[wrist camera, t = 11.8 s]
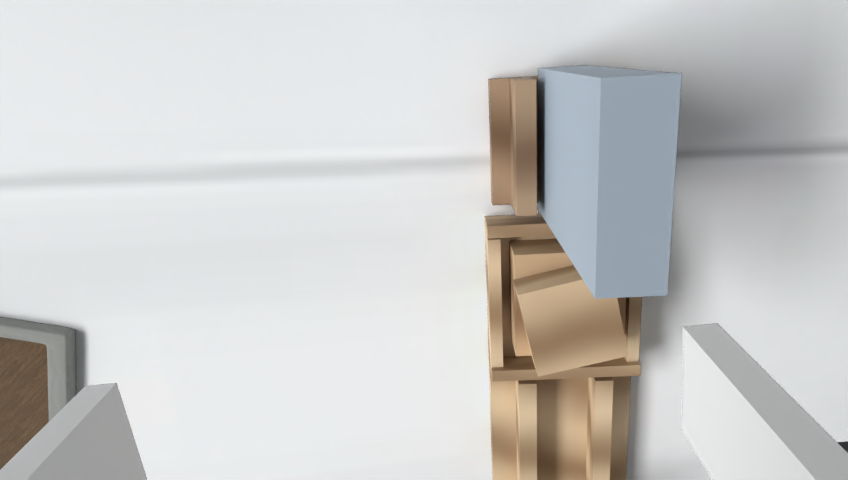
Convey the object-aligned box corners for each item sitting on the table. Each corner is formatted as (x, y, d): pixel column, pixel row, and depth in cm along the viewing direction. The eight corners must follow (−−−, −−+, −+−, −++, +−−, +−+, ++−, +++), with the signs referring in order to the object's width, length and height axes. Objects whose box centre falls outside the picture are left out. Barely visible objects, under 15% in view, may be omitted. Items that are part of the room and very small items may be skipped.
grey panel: (537, 68, 37) (601, 78, 23) (587, 65, 37) (681, 73, 23) (538, 210, 40) (595, 298, 26) (584, 207, 40) (667, 295, 25)
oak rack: (484, 216, 41) (493, 248, 34) (633, 208, 41) (672, 239, 34) (493, 497, 48) (502, 569, 41) (620, 493, 47) (651, 565, 41)
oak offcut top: (512, 279, 38) (517, 295, 36) (601, 258, 38) (612, 272, 35) (532, 357, 40) (537, 376, 37) (616, 337, 39) (628, 355, 37)
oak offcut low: (508, 240, 40) (514, 255, 38) (614, 235, 40) (628, 249, 37) (510, 335, 43) (515, 356, 40) (611, 331, 42) (623, 351, 39)
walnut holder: (488, 78, 38) (494, 82, 35) (631, 70, 38) (653, 72, 34) (491, 201, 41) (497, 217, 37) (626, 194, 40) (646, 209, 37)
